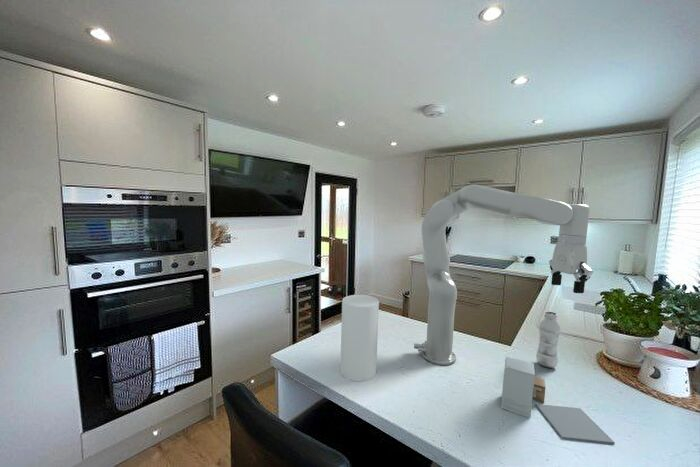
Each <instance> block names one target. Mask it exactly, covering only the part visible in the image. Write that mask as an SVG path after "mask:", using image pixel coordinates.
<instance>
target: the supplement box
mask: <svg viewBox="0 0 700 467" xmlns="http://www.w3.org/2000/svg"><path fill="white" fill-rule="evenodd" d="M503 369H504V371H503V379H502V380H503V381H502V382H503V383H502V391H501V392H502V393H501V403H500V404H501V405H500V406H501V407H500V408H501V409H504V410H506V411H510V412H512V413H514V414H517V415H520V416H523V417H526V418H528V419H530V418H531V417H532V408H533V399H532V398H533V387H534V377H535V375H536V373H535V372H536V371H535V364H534V362H529V361H526V360H523V359H518V358H514V357H511V356H505V361H504V368H503Z"/></svg>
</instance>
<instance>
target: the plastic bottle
mask: <svg viewBox="0 0 700 467" xmlns="http://www.w3.org/2000/svg"><path fill="white" fill-rule="evenodd" d="M557 320H558V314H557V313H556V312H553V311H549V310H548V311H544V315H543V319H542V320H541V321H540V322H539V324H538V331H539V338H538V339H539V341H538V342H539V343H538V348H537V351H536V354H535V359H536V362H537V363H538V364H539V365H540V366H543V367H545V368H551V369H553V368H555V367H556V368H557V366H558V363H559V357H558V342H559V338H560V335H561V334H560V333H561V326H560V324H559V323H558V321H557Z"/></svg>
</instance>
